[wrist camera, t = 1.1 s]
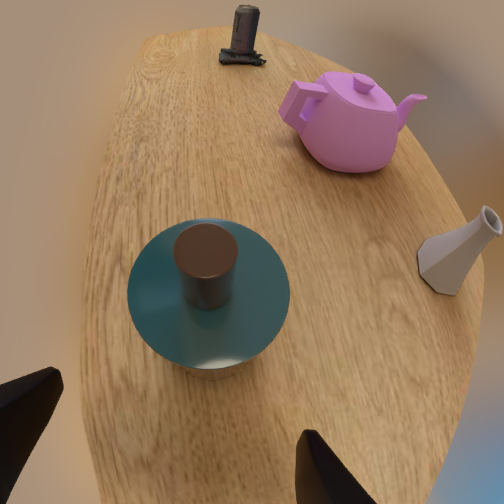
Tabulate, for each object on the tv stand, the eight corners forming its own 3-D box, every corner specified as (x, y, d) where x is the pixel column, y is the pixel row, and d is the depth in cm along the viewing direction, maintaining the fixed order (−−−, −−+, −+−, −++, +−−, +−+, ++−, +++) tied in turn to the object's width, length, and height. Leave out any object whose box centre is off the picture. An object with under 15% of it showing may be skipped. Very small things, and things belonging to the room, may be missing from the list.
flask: (410, 278, 28) (468, 227, 19) (419, 231, 32) (465, 177, 23) (457, 306, 27) (517, 265, 18) (461, 258, 30) (511, 213, 22)
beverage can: (254, 52, 51) (261, 3, 41) (267, 66, 48) (276, 12, 37) (211, 54, 49) (215, 3, 39) (220, 68, 46) (225, 10, 35)
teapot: (417, 181, 36) (455, 124, 27) (287, 182, 32) (311, 100, 23) (377, 122, 42) (401, 68, 33) (261, 115, 39) (273, 46, 29)
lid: (274, 385, 13) (300, 375, 9) (115, 350, 13) (74, 323, 9) (291, 243, 17) (314, 190, 13) (158, 218, 16) (144, 161, 13)
